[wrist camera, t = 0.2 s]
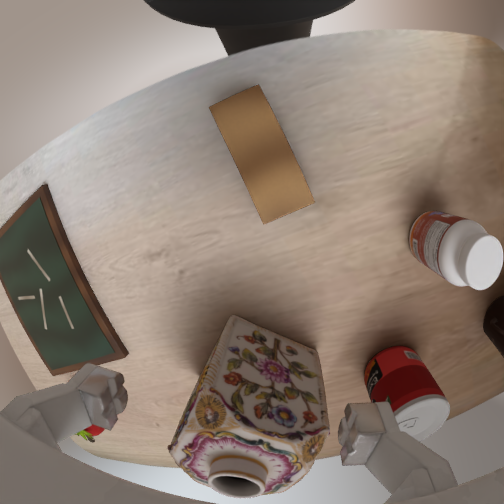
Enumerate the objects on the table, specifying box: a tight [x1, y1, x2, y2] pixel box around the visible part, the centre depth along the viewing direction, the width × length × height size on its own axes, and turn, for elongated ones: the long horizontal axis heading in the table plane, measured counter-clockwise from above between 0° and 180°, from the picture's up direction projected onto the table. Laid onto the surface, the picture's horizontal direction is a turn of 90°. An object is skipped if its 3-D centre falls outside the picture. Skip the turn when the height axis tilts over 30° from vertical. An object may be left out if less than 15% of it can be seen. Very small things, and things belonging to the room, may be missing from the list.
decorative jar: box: [168, 315, 330, 498], centre depth 26 cm, size 12×12×18 cm
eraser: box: [209, 84, 315, 224], centre depth 27 cm, size 12×5×4 cm, turn 25°
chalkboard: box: [0, 185, 129, 376], centre depth 35 cm, size 26×20×1 cm
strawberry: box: [74, 424, 104, 440], centre depth 35 cm, size 6×8×10 cm
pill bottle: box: [409, 211, 503, 290], centre depth 23 cm, size 6×6×11 cm
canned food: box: [364, 346, 450, 442], centre depth 28 cm, size 8×8×11 cm
